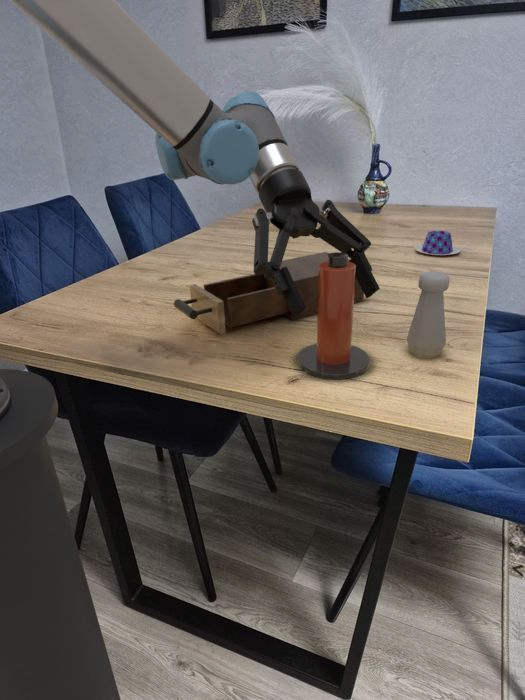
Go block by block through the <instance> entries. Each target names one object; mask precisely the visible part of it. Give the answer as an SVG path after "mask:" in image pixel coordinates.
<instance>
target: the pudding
mask: <svg viewBox="0 0 525 700" xmlns="http://www.w3.org/2000/svg"><path fill="white" fill-rule="evenodd" d="M413 249H414V250H415V251H417V252H419V253H422V254H426V255H428V256H429V255H430V256H441V257H442V256H450V255H455V254H459V253H460V252H461V248H460V247H457V246H455V245H453V240H452V234H451V232H449V231H446V230H430V231H428V233H427V234H426V237H425V240H424V242H423V244H417V245H415V246H414V247H413Z"/></svg>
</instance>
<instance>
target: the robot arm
mask: <svg viewBox="0 0 525 700" xmlns="http://www.w3.org/2000/svg"><path fill="white" fill-rule="evenodd" d="M8 1H9V2H11V3H12V4H13V5H14V6H15V7H16V8H17V9H18V10H19V11H20V12H21V13H23V14H24V15H25V16H26V17H27V18H28V19H29V20H30V21H32V22H33V23H34V24H35V25H36V26H37V27H38V28H39V29H40V30H42V31H43V33H45V34H46V35H47V36H48V37H50V38H51V39H52V41H54V42H55V43H56V44H57V45H59V47H61V48H62V49H63V50H64V51H65V52H66V53H67V54H68V55H70V57H72V58H73V59H74V60H75V61H76V62H77V63H78V64H80V65H81V66H82V67H83V68H84V69H85V70H86V71H87V72H88V73H90V74H91V75H92V76H93V77H95V79H96V80H97V81H99V82H100V83H101V84H102V85H103V86H104V87H105V88H106V89H108V90H109V92H111V93H112V94H113V95H114V96H115V97H116V98H118V99H119V100H120V101H121V102H122V103H123V104H124V105H125V106H126V107H127V108H129V109H130V110H131V111H132V112H133V113H134V114H135V115H137V116H138V118H140V119H141V120H142V121H143V122H144V123H145V124H147V126H149V127H150V128H151V129H152V130H153V131H154V132H156V133H155V136H154V141H155V142H154V143H155V147H156V152H157V157H158V160H159V163H160V166H161V168H162V171H163V173H164V175H165V177H167V179H169V180H171V181H179V180H182V179H184V180H188V179H189V178H191V177H195V176H198V177H200V178H204V179H206V180H209V181H211V182H212V183H214V184H217V185H237V184H240V183H242V182H244V181H246V180H247V179H250V181H251V184H252V185H253V187H254V190H255V192H256V193H257V194H258V198H259V201H260V203H261V205H262V207H263V208H261V207H260V208H258V209H257V211H256V212H255V214H254V216H253V218H252V220H251V223H252V226H253V229H254V231H255V233H254V253H253V255H254V256H253V274H255V275H257V276H259V275H261V274H265V275H264V277H265V278H266V279H267V280H271V281H272V283H273V285H274V287H275V289H276V291H277V293H278V294H279V295H283V296H284V299H285V301H286V303H287V305H288V307H289V309H290V312H291V314H292V316H293V317H297V316H298V315H299V314H300V313H301V312H302V311H303V310H304V309H305V308H306V307H305V304H304V302H303V300H302V298H301V296H300V294H299V292H298V290H297V288H296V285H295V283H294V281H293V279H292V277H291V275H290V273H289V271H288V268H287V267H283V268H282V269H281V270H280V266H281V263H282V261H283V259H284V256H285V253H286V250H287V246H288V244H289V240H290V238H291V239H298V238H300V237H310V236H312V237H313V238H314V239H321V240H322V241H324V242H325V243H326V244H328V245H330V246H331V247H332V248H334V249H336V250H337V251H338V252H340V253H346V254H348V259H350V260H349V262H352V263H354V264H355V265H356V276H355V277H356V279H357V281H358V283H359V285H360V287H361V289H362V291H363V293H364V297H365V298H366V299H368V298H371V297H372V296H373V295H374V294H376V292H378V291H379V290H380V289H381V288H380V286H379V284H378V282H377V280H376V277H375V276H374V274H373V267H372V265H371V263H370V262H369V258H367V255H366V251H367V250H368V249H369V248H370V247H371V246H372V242H371V241H370V240H369V238H368V237H367V236H365V235H364V234H363V233H362V232H361V231H360V230H359V229H358V228H357V227H356V226H355V225H354V224H352V222H351V221H350V220H349V219H347V218H346V216H344V215H343V214H342V213H341V212H340V211H339V210H338V209H337V207H336V205H335V204H334V202H333V201H332V200H330V199H326V200H325V202H324V203H322V204H319V205H317V204H316V203H315V202H314V201H313V198H312V192H311V191H312V190H311V187H310V186H309V185H310V184H309V183H308V181H307V179H306V178H305V175H304V174H303V172H302V171H301V167H300V165H299V164H298V161H297V160H296V158H295V156H294V154H293V152H292V150H291V148H290V146H289V145H288V142H287V140H286V139H285V137H284V135H283V133H282V131H281V128H280V126H279V125H278V122H277V120H276V117H275V114H274V113H273V111H272V110H271V108H270V106H269V105H268V103H267V102H266V101H265V99H264V97H262V95H261V94H259V93H258V92H256V91H251V90H244V91H241V92H238V93H237V95H235V97H230V98H229V99H228V100H227V101H226V103H225V104H224V106H223V108H222V109H221V108H220V107H219V106H218V104H216V102H214V101H213V100H212V99H211V98H210V97H209V96H208V95H207V94H206V93H205V91H203V89H201V88H200V86H198V85H197V83H195V81H194V80H193V79H192V78H191V77H190V76H189V75H188V74H187V73H186V72H185V71H184V70H183V69H182V68H181V67H180V66H179V64H177V63H176V61H174V60H173V58H171V57H170V56H169V54H168V53H167V52H166V51H165V50H164V49H163V48H162V47H161V46H160V45H159V44H158V43H157V42H156V40H154V39H153V38H152V37H151V36H150V34H148V33H147V32H146V31H145V30H144V29H143V27H141V26H140V24H139V23H138V22H137V21H136V20H135V19H134V18H133V17H132V16H131V15H130V14H129V13H128V12H127V11H126V10H125V9H124V8H123V7H122V6H121V5H120V4H119V2H117V1H116V0H8ZM270 224H271V225H273V226H274V227H275V228H277V229H278V232H277V236H276V239H275V244H274V247H273V250H272V252H271V253H272V254H271V256H270V260H269V240H270V239H269V238H270V237H269V236H270ZM318 224H319V227H318ZM11 403H12V400H11V396H10V393H9V390H8V388H7V386H6V384H5V383H4V381H3V380H2V379H1V378H0V420H1V419H2V418H3V417H4V416H5V415H6V413H7V412H8V411H9V409H10V407H11Z"/></svg>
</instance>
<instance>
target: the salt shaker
mask: <svg viewBox="0 0 525 700" xmlns="http://www.w3.org/2000/svg"><path fill="white" fill-rule="evenodd" d="M417 285H418V288H419V289H420V290H421V291H420V293H419V297H418V301H417V304H416V308H415V310H414V314H413V317H412V321H411V324H410V328H409V330H408V334H407V337H406V341H407V344H408V348H409V352H410V353H411V354H412V355H414V356H415V357H417V358H421V359H429V360H430V359H433V358H436V357H438V356H439V355H440V354H441V352H442V350H444V348H445V346H446V343H447V334H446V332H447V331H446V319H445V318H446V317H445V316H446V315H445V299H444V298H445V297H444V296H445V295H444V294H445V293H444V292H446V291H448V289H449V286H450V276H449V275H448V274H446V273H445V272H441V271H436V270H435V271H434V270H430V271H425V272H422V273H421V274H420V276H419V279H418V284H417Z"/></svg>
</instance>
